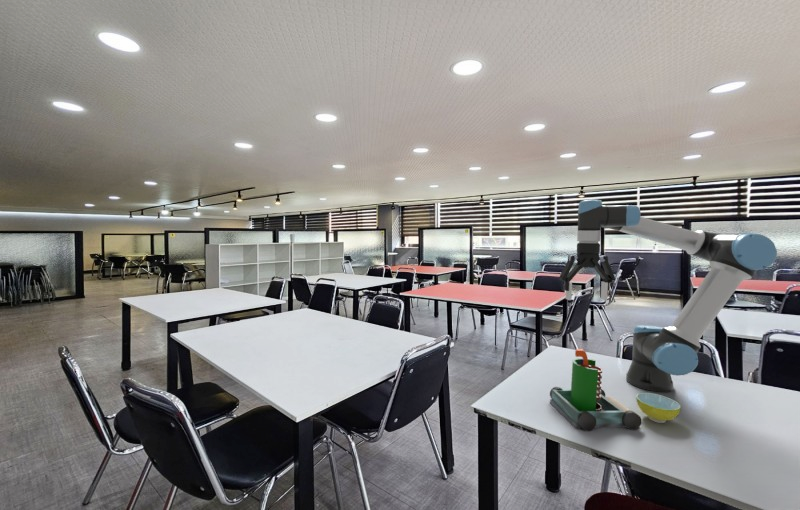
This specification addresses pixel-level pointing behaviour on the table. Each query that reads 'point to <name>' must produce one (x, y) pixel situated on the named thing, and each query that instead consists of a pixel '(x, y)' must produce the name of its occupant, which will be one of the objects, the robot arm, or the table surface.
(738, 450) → the table surface
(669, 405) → the bowl
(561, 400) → the chassis
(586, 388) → the motor
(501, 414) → the table surface
